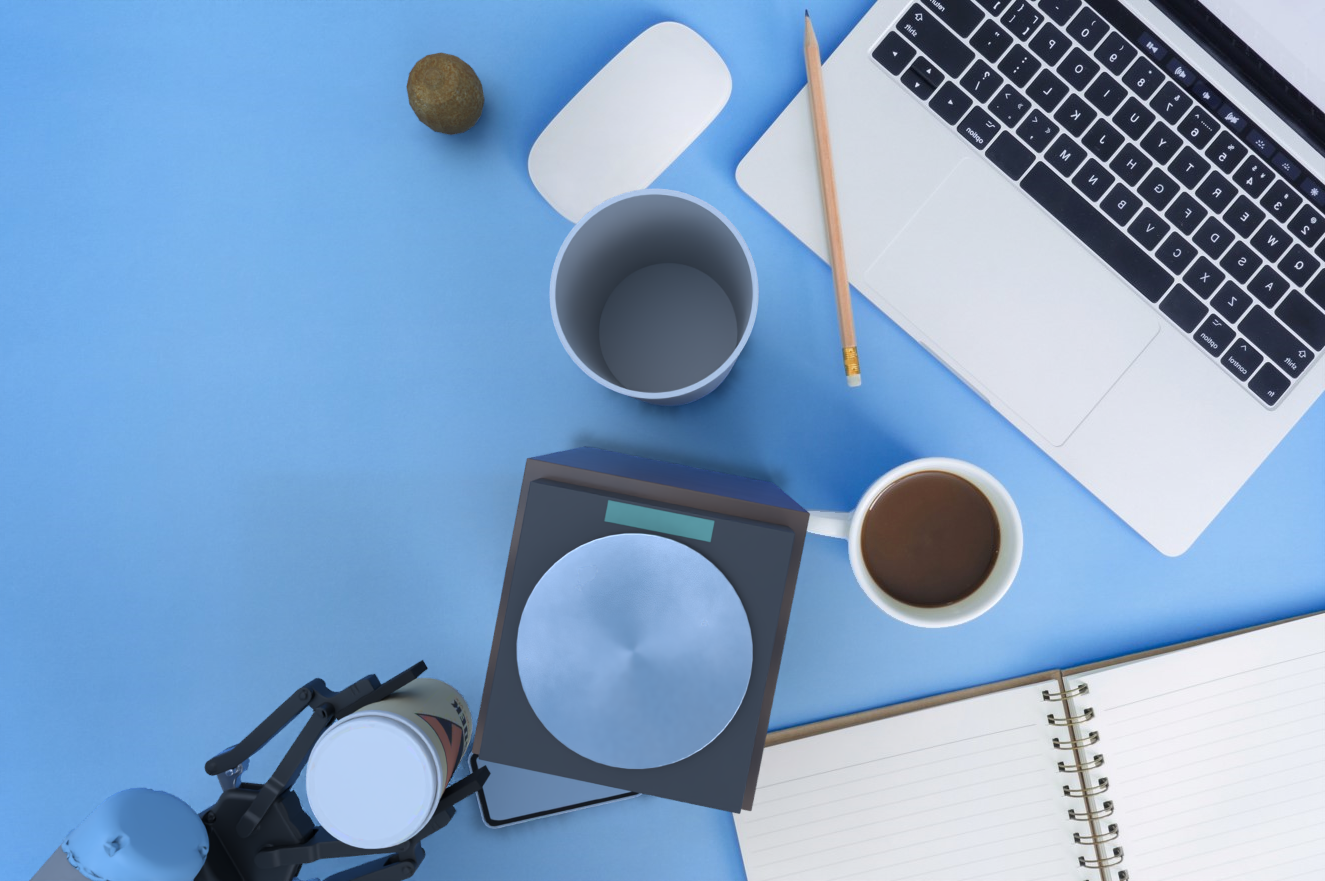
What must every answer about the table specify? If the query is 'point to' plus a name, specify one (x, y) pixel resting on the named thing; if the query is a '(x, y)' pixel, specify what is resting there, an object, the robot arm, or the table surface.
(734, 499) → the dark grey tall block
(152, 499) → the table surface
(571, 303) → the cylinder vase
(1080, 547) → the table surface
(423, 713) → the coffee cup
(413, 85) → the fruit
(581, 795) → the smartphone
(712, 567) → the scale pan
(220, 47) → the table surface
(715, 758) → the scale
